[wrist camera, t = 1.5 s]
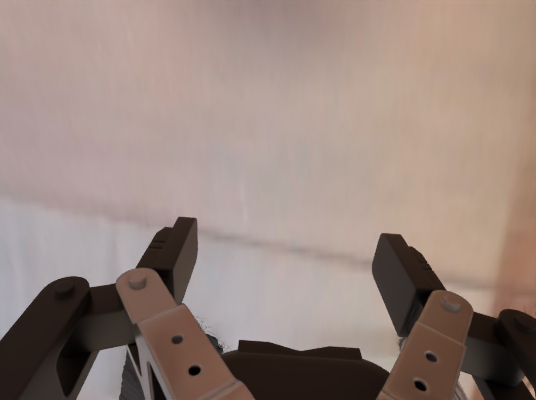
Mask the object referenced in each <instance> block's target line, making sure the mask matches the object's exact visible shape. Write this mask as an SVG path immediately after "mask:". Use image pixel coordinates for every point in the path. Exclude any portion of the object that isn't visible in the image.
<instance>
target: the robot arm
mask: <svg viewBox="0 0 536 400" xmlns="http://www.w3.org/2000/svg"><path fill="white" fill-rule="evenodd" d="M197 252H198V238H197V219H196V218H190V217H178V219H177V221H176V222H175V224H174V226H173V228H171V227H165V228H163V229H162V230H160V231H159V232H157V233H156V235H155V236H154V238H153V240H152V242H151V243H150V245H149V246H148V248H147V250H146V251H145V253H144V255H143V256H142V258H141V260H140V261H139V263H138V265H137V266H136V268H135V269H132V270H129V271H127V272H125V273H123V274H122V275H121V276H120V277H119V278H118V279H117V281H116V283H114V284H110V285H104V286H97V287H89V283H88V281H87V280H86V279H84V278H82V277H76V276H71V277H65V278H61V279H58V280H56V281H53V282H52V283H50V284H48V285H47V286H46V287H44V289H43V290H42V291H41V292H40V293H39V294H38V296H37V297H36V298H35V299H34V300H33V302H32V303H31V304H30V305H29V307H28V308H27V309H26V310H25V311H24V313H23V314H22V315H21V316H20V317H19V319H18V320H17V321H16V322H15V324H14V325H13V326H12V327H11V328H10V330H9V331H8V332H7V333H6V334H5V336H4V337H3V338H2V339H1V341H0V400H76V399H77V396H78V394H79V392H80V390H81V388H82V386H83V384H84V382H85V380H86V378H87V376H88V374H89V372H90V369H91V367H92V365H93V363H94V361H95V359H96V357H97V355H98V353H99V351H100V350H103V349H108V348H113V347H118V346H123V345H126V348H127V351H128V353H129V356H130V358H131V361H132V363H133V365H134V368H135V370H136V373H137V375H138V378H139V380H140V383H141V386H142V389H143V392H144V396H145V400H453V397H454V394H455V390H456V386H457V383H458V379H459V375H460V371H462V372H465V373H468V374H471V375H472V377H473V379H474V380H475V382H476V384H477V386H478V388H479V390H480V392H481V394H482V396H483V398H484V400H535V399H534V397H533V396H532V394H531V393H530V391H529V390H528V388H527V387H526V385H525V384H524V382H523V381H522V379H523V378H524V376H526V377H527V379H528V380H529V382H530V383H531V385H532V386H533V388H534V391H535V396H536V319H535V318H533V317H532V316H530V315H528V314H526V313H523V312H521V311H517V310H513V309H505V310H502V311H501V312H500V314H499V316H498V317H497V318H494V317H490V316H487V315H483V314H480V313H477V312H474V311H473V308H472V306H471V305H470V304H469V302H468V301H466V300H465V299H464V298H462V297H461V296H459V295H457V294H455V293H453V292H450V291H447V290H446V289H445V287H444V286H443V284H442V283H441V281H440V280H439V279H438V277H437V276H436V274H435V273H434V271H432V268H431V267H430V265H429V264H427V261H426V260H425V258H424V257H423V255H422V254H421V253H420V252H418V251H417V250H416V249H415V248H413V247H410V246H408V245H407V243H406V242H405V240H404V239H403V237H402V236H401V235H400V234H388V233H382V234H381V235H380V238H379V241H378V245H377V248H376V252H375V256H374V259H373V263H372V273H373V277H374V279H375V282H376V284H377V287H378V289H379V291H380V294H381V296H382V299H383V301H384V303H385V306H386V308H387V310H388V313H389V315H390V318H391V320H392V322H393V325H394V327H395V330H396V332H397V334H398V337H408V338H407V340H406V342H405V344H404V346H403V348H402V350H401V352H400V354H399V356H398V358H397V360H396V362H395V364H394V366H393V368H392V370H391V372H390V373H389V372H388V371H386V370H385V369H383V368H382V367H380V366H378V365H376V364H374V363H372V362H370V361H367V360H364V359H362V356H361V353H360V349H359V348H346V347H332V346H329V347H323V348H317V349H311V350H305V351H298V350H294V349H291V348H287V347H284V346H280V345H277V344H274V343H270V342H260V341H246V340H239V345H238V350H234V351H230V352H226V353H223V354H221V355H219V354H218V352H217V351H216V349H215V348H214V346H213V345H212V343H211V342H210V340H209V339H208V337H207V336H206V334H205V333H204V331H203V330H202V328H201V327H200V325H199V324H198V322H197V321H196V319H195V318H194V316H193V315H192V313H191V312H190V310H189V309H188V307H187V306H186V305H185V304H184V303H182V301H183V298H184V295H185V292H186V289H187V286H188V283H189V280H190V277H191V275H192V272H193V269H194V266H195V263H196V259H197ZM181 303H182V304H181Z"/></svg>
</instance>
